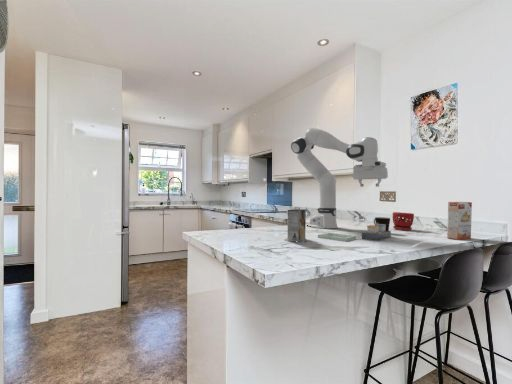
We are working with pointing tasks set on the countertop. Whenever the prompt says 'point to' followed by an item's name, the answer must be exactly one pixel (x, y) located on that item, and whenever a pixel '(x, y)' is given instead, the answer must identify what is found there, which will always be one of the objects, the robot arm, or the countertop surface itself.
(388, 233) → the power strip
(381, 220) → the coffee mug
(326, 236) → the tray
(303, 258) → the countertop surface
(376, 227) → the plug
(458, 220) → the cracker box
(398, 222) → the plant pot
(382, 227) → the twin plug
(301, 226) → the coffee box
